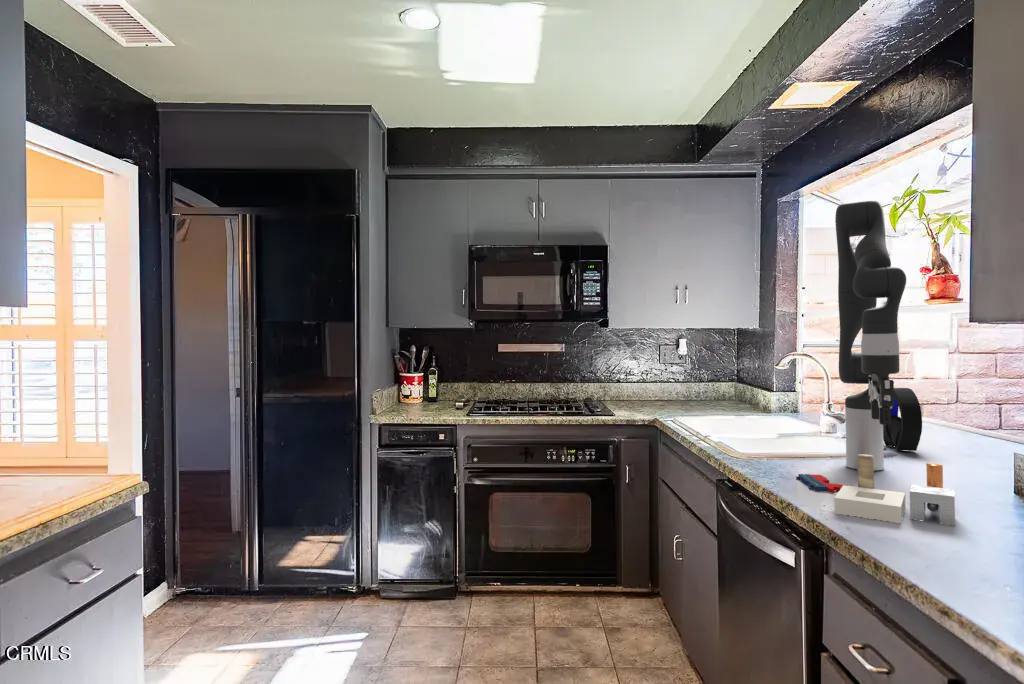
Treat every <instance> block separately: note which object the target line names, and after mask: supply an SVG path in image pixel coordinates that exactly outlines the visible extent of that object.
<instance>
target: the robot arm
mask: <svg viewBox="0 0 1024 684" xmlns="http://www.w3.org/2000/svg"><path fill="white" fill-rule="evenodd" d="M834 222H835V234H836V236H835V237H836V244H837V245H836V246H837V259H838V260H837V261H838V276H837V277H838V285H837V287H838V289H837V291H838V293H837V294H838V297H837V298H838V302H837V303H838V314H839V315H838V318H839V343H838V344H839V345H838V347H839V349H838V375H839V379H840V381H841V382H842V383H843V384H854V385H855V384H858V385H860V384H861V385H867V386H868V387H867V389H865V390H863V391H862V392H859V393H856V394H851V395H849V396H846V398H845V399H844V400H845V401H844V406H845V407H844V411H845V415H844V417H845V418H844V419H845V465H846V467H848V468H850V469H855V470H858V455H859V454H867V455H872V456H873V460H874V472H875V471H882V470H884V468H885V463H884V462H885V460H884V452H885V451H884V445H885V444H884V440H883V425H890V424H891V408H892V407H894V405H895V403H894V388H895V385H894V384H895V381H894V380H893V379H890V375H896V374H899V373H900V341H899V334H898V333H899V332H898V329H899V328H898V316H899V315H898V314H899V310H900V309H899V308H900V304H901V300H902V296H903V294H904V292H905V288H906V286H907V275H906V273H905V271H904V270H903V269H902V268H900V267H898V266H892V261H891V257H890V254H889V251H888V249H887V242H886V224H885V214H884V209H883V206H882V204H881V202H879V201H877V200H863V201H856V202H846V203H841V204H839V205H838V206H837V207H836V210H835V220H834ZM852 237H862V238H861V240H859V242H858V243H857V245H856V247H855V250H854V249H853V247H852V243H851V238H852ZM885 298H886V302H885V303H884V304H883V305H880V306H877V301H878V300H877V299H885ZM860 332H861V341H860V351H853V350H852V348H853V345H854V342H855V340H856V338H857V336H858V334H859V333H860ZM884 400H887V401H884Z"/></svg>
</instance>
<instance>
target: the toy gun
mask: <svg viewBox="0 0 1024 684" xmlns="http://www.w3.org/2000/svg"><path fill="white" fill-rule="evenodd" d="M795 479H796V480H800V482H802V483H803V484H804V485H805V486H808V487H809V488H808V489H809V490H813V491H814V490H815V491H814V492H819V491H828V492H827V493H829V492H830V494H834V493H835V492H839V491H840V489H841V488H842V486H843V485H844V484H840V483H832V482H831V483H830V479H828V478H827V477H825V476H824V475H821V474H809V473H808V474H807V473H805V474H803V473H798V476H795ZM845 485H846V486H849V485H848V484H845ZM835 490H836V491H835Z"/></svg>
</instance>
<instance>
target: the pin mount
mask: <svg viewBox="0 0 1024 684" xmlns="http://www.w3.org/2000/svg"><path fill="white" fill-rule="evenodd" d="M955 492H956V490H955V489H951V488H944V487H943V488H936V487H927V485H919V484H911V485H910V489H909V520H910V519H916V520H923V521H924V522H925V520H926V515H925V514H926V508H927V507H926V504H927V503H932V504H939V524H940V523H942V524H941V525H943V524H948V525H947V526H950V525H953V526H952V527H955V525H956V502H955V499H956V497H955V495H956V494H955ZM924 519H925V520H924ZM916 520H915V521H916ZM923 521H922V522H923Z"/></svg>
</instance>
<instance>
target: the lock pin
mask: <svg viewBox="0 0 1024 684" xmlns="http://www.w3.org/2000/svg"><path fill="white" fill-rule="evenodd" d="M943 465H944V464H940V463H933V462H931V463H926V486H927V487H936V488H944V480H943V479H944V471H943V469H944V468H943V467H944V466H943ZM926 508H927V510H929V511H930V512H936V511H937V512H938V511H939V509H940V505H939V504H932V503H926Z"/></svg>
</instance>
